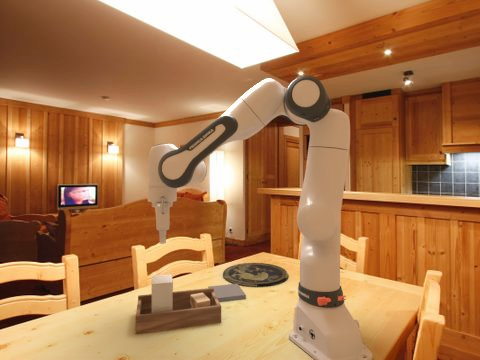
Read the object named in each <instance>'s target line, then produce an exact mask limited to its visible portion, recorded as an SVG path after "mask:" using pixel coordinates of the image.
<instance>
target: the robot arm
mask: <svg viewBox="0 0 480 360" xmlns="http://www.w3.org/2000/svg"><path fill="white" fill-rule="evenodd" d="M278 116H280V117H282V118H284V119H285V120H287V121H289V122H291V123H292V124H294V125H296V126H301V127H305V126H307V127H308V128H309V129H308V130H309V142H308V149H307V156H306V165H305V173H304V177H303V178H304V179H303V182H302V187H301V193H300V196H299V201H298V208H297V214H296V225H297V228H298V230H299V232H300V233H301V236H302V237H301V246H300V254H299V282H298V286H297V293H298V294H297V295H298V301H297V302H296V304H295V306H294V308H293V309H294V310H293V319H292V324H293V325H292V330H291V331H290V332H289V333H288V339H289V340H290V341H292V342H293V344H295V345H296V346H298V347H299V348H300V349H301V350H302V351H304V352H305V353H306V354H308V355H309V357H311V358H312V359H314V360H373V359H374V356H373V355H374V354H373V352H372V351H370V349H369V348H368V347H367V346H366V345H365V344H364V342H363V338H362V333H361V329H360V322H359V320H357V319H354V318H353V316H352V314H351V313H350V311H349V309H348V307H347V306H346V304H345V301H346V300H347V298H346V297H347V296H346V295H344V292H343V289H342V286H341V231H342V230H341V229H342V228H341V225H342V223H341V222H342V212H341V211H342V206H343V199H344V190H345V185H346V184H345V183H346V177H347V170H348V163H349V155H350V146H351V123H350V121H351V120H350V118H349V115H348V114H347V113H346V112H344V111H342V110H340V109H336V108H332V102H331V99H330V97H329V94H328V93H327V90H326V88H325V86H324V84H323V83H322V81H321V80H320V79H319V78H317V77H315V76H311V75H302V76H298V77H296V78H295V79H294V80H292V81H291V82H290V84H289V85H288V86H287V87H285V86H283V85H282V84H281V83H280V81H278V80H276V79H273V78H265V79H263V80H261V81H260V82H258V83H256V84H255V85H254V86H253V87H251V88H250V89H248V90H247V91H246V92H245V93H244V94H242V95H241V96H240V97H239V98H238V99H237V100H235V102H234V103H232V104H231V105H230V107H228V108H227V109H226V110H225V111H224V113H222V114H221V115H220V116H219V117H217V119H215V120H214V121H212V123H210V124H209V125H207V126H206V127H205V128H203V130H202V131H200V132H199V133H197V135H195V136H193V138H191V139H190V140H189V141H188V142H187V143H185V144H184V145H183V146H181V147H179V148H178V147H177V146H176V145H175V144H173V143H169V142H168V143H158V144H155V145H153V146H152V147H151V148H150V149H149V153H148V157H147V158H148V159H147V175H148V182H147V202H149V203H151V207H152V208H154V212H155V220H156V222H155V225H156V226H155V228H156V229H155V230H156V231H158V236H159V244H162V245H163V244H164V245H165V244H166V242H167V239H166V238H167V231H169V230H170V224H171V223H170V221H171V219H170V208H172V207H173V206H174V205H173V204H174V202H177V201H178V200H177V199H178V196H177V195H178V192H177V191H178V188H182V187H189V186H195V185H199V184H200V183H202V182H203V181H204V180H205V178H206V176H207V171H208V168H207V167H208V166H207V165H206V162H205V160H206V159H207V158H208V157H209V156H211V155H212V154H213V153H214V152H216V150H218V149H220V147H222V146H225V144H229V143H231V142H236V141H244V140H248V139H250V138H252V137H253V136H254V135H256V134H258V133H259V132H260V131H261V130H262V129H264V127H266V126H267V125H268V124H269V123H271V121H272V120H274V119H275V118H277V117H278Z"/></svg>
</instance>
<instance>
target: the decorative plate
mask: <svg viewBox="0 0 480 360" xmlns="http://www.w3.org/2000/svg"><path fill="white" fill-rule="evenodd" d="M222 278H223V280H225V282H228V283H229V284H238V285H239V286H240V287H246V288H271V287H274V286H279V285H282V284H283V283H285V282H286V281H288V279H289V273H288V271H287V269H285V268H283V267H281V266H279V265H275V264H270V263H264V262H246V263H245V262H244V263H237V264H234V265H231V266H229V267H227V268H225V269H224V270H223V272H222Z"/></svg>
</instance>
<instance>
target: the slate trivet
mask: <svg viewBox="0 0 480 360" xmlns="http://www.w3.org/2000/svg"><path fill="white" fill-rule="evenodd" d="M207 288H214V293H215V295H216V297H217V299H218V301H219V303H222V302H223V303H225V302H231V301H239V300H246V299H247V294H246V293H245V292H244V291H243V289H242V288H241V286H239V285H238V284H232V283H229V284H222V285H221V284H218V285H211V286H207Z"/></svg>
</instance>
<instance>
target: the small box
mask: <svg viewBox="0 0 480 360" xmlns="http://www.w3.org/2000/svg"><path fill="white" fill-rule="evenodd" d="M173 284H174V282H173V274H170V273H169V274H160V275H152V278H151V294H152V313H157V312H166V311H173V292H174V288H173V287H174V285H173Z"/></svg>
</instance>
